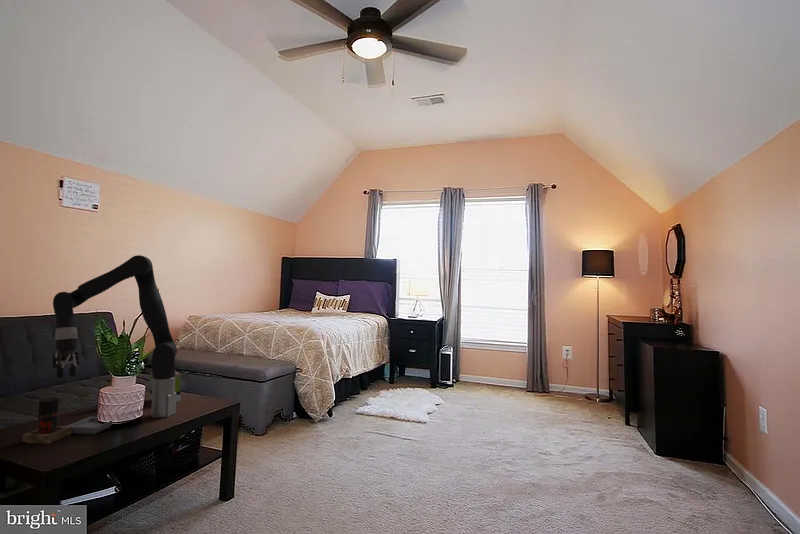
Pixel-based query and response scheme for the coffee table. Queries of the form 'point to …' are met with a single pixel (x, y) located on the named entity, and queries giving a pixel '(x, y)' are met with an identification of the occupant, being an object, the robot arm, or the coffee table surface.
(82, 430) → the tray
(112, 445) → the coffee table surface
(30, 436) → the socket block
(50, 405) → the deodorant
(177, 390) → the tea box
